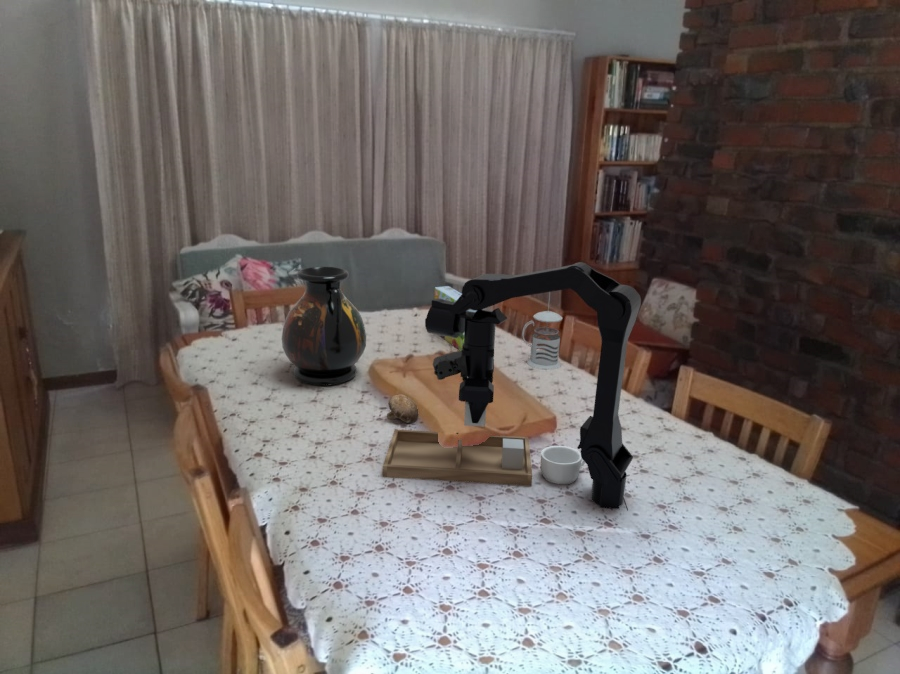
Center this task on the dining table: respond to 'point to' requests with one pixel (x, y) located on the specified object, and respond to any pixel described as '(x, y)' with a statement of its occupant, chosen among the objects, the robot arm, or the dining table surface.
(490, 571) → the dining table surface
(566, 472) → the teacup
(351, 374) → the amphora vase
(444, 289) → the snack box
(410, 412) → the mushroom
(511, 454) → the light grey cube
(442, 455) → the divided tray
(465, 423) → the grey cube
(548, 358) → the french press
